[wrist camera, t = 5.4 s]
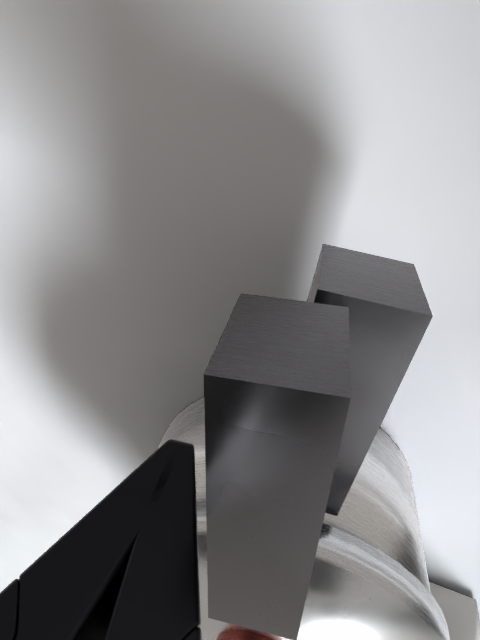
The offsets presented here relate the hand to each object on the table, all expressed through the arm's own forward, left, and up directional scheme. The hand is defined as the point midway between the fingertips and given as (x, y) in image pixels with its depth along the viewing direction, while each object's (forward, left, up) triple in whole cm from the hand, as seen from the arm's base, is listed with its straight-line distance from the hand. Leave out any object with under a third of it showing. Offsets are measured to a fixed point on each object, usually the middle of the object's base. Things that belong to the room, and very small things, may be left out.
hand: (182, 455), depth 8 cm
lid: (-2, +6, -1) cm, 6 cm away
